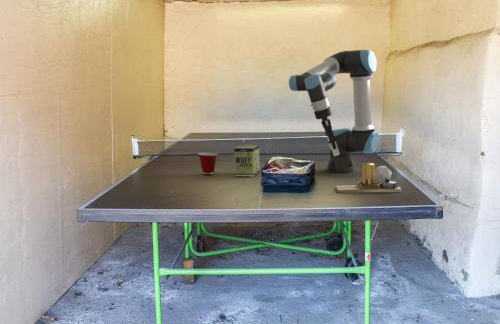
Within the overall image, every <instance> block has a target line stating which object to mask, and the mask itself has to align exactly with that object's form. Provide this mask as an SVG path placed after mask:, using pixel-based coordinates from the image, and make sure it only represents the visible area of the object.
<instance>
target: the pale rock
mask: <svg viewBox="0 0 500 324" xmlns="http://www.w3.org/2000/svg"><path fill="white" fill-rule="evenodd" d="M392 175H393V172H392V170H391V169H389V168H388V167H387V166H385V165H380V166H376V167H375V181H377V182H378V181H379V180H380V181H381V180H385V178H390V179H391V177H392Z"/></svg>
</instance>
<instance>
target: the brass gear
mask: <svg viewBox="0 0 500 324" xmlns="http://www.w3.org/2000/svg"><path fill="white" fill-rule="evenodd" d="M375 171H376V163H373V162H364V163H361V181H362V185H375V181H376V179H375Z"/></svg>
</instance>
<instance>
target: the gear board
mask: <svg viewBox="0 0 500 324" xmlns="http://www.w3.org/2000/svg"><path fill="white" fill-rule="evenodd" d="M377 182H378V181H377V180H375V185H362V180H361V181H359V180H358V181H357V183H356V184H357V185H336V191H337V193H338V194H351V193H352V194H355V193H357V194H358V193H359V194H361V193H362V194H363V193H364V194H365V193H403V191H402V190H403V189H402V188H401V187H400V186H399V185H398V187H397V188H396V189H380V185H379V184H378V183H377Z"/></svg>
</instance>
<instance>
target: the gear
mask: <svg viewBox="0 0 500 324" xmlns="http://www.w3.org/2000/svg"><path fill="white" fill-rule="evenodd" d="M377 183H378V184H379V185H380V189H396V188H397V187H398V186H399V182H398V181H396V180H393V179H391V177H390V178H385V180H381V181H380V180H379V181H377Z"/></svg>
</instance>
